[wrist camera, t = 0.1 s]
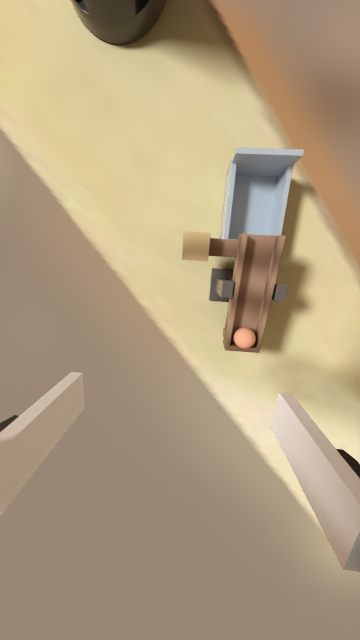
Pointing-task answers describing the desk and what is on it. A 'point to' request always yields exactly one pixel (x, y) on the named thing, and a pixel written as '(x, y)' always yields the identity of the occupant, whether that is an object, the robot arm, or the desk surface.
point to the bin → (257, 191)
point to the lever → (243, 278)
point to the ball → (244, 337)
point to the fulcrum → (224, 287)
